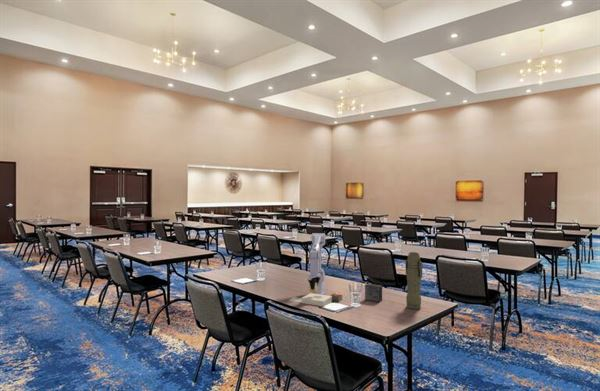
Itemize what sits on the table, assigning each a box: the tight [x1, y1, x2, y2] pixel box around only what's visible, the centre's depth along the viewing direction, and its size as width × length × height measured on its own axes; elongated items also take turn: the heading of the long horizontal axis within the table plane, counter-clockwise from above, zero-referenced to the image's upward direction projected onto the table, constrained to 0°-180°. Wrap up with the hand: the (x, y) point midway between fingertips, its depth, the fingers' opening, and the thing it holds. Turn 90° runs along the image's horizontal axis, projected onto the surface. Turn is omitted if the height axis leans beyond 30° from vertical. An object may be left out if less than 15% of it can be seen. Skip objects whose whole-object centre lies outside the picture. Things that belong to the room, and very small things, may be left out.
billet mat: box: [288, 296, 303, 303], centre depth 246 cm, size 9×9×1 cm
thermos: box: [405, 251, 423, 310], centre depth 232 cm, size 9×12×35 cm
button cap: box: [332, 292, 340, 297], centre depth 247 cm, size 4×4×2 cm
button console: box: [329, 293, 343, 303], centre depth 247 cm, size 7×7×3 cm
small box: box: [364, 283, 383, 303], centre depth 247 cm, size 11×6×10 cm, turn 59°
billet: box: [308, 282, 318, 293], centre depth 242 cm, size 4×4×6 cm
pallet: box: [301, 292, 333, 307], centre depth 241 cm, size 14×16×4 cm
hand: (314, 288), depth 242 cm, fingers closed on billet, 4 cm apart
